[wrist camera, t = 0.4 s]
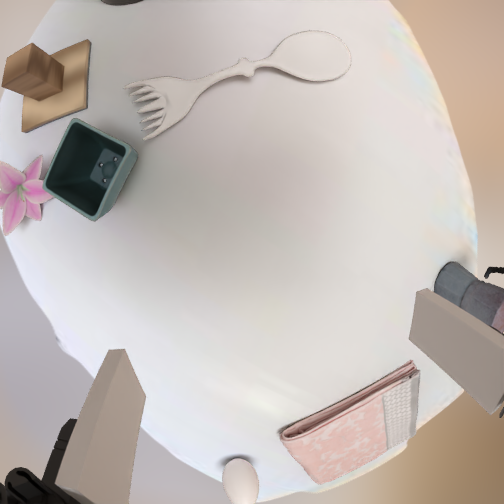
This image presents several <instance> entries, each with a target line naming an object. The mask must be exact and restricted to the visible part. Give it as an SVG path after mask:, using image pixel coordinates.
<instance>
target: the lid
mask: <svg viewBox="0 0 504 504" xmlns="http://www.w3.org/2000/svg"><path fill="white" fill-rule="evenodd" d="M89 47H90V41H89V40H88V39H87V40H85V41H82V42H79V43H77V44H74V45H72V46H70V47H67V48H65V49H63V50H60V51H58V52H56V53H54V54H52V55H48V54H47V53H46V52H44V51H43V50H41V49H40V48H39V47H37V46H36V45H35V44H33V43H31V44H29V45H27V46H25V47H24V48H22V49H20V50H19V51H17V52H16V53H14V54H13V55H11V56H9V57H8V58H7V61H6V65H5V70H4V75H3V81H2V87H4V88H6V89H9V90H12V91H14V92H17V93H19V94H22V95H24V98H23V110H22V132H27V131H29V130H31V129H33V128H36V127H38V126H40V125H42V124H45V123H47V122H49V121H52V120H54V119H57V118H59V117H62V116H64V115H67V114H70V113H72V112H75V111H78V110H81V109H84V108H86V86H87V68H88V56H89Z"/></svg>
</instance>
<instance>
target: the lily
mask: <svg viewBox="0 0 504 504" xmlns="http://www.w3.org/2000/svg"><path fill="white" fill-rule="evenodd" d="M42 162H43V156H42V155H41V156H39V157H38V158H36V159H35V160H34V161H33V162H32V163H31V164H30V165H29V166H28V167H27V168H26V169H25V170H24V171H23V172H21V171H19V170H17V169H15V168H14V167H12V166H10V165H9V164H7V163H5V162H2V161H0V189H1V190H0V209H3V233H4V235H5V236H7V235H9V234H10V233H11V232H12V231H13V230H14V229H15V228H16V227H17V226H18V225H19V224H20V222H21V221H22V220H23V218H24V216H27V217H29V218H31V219H34V220H37V221H41V219H42V215H41V208H40V203H44V202H46V201H48V200H50V199H51V198H53V196H52V195H50V194H49V193H47V192H46V191H44V190H43V188H42V185H43V181H44V180H39V178H40V174H41V169H42Z"/></svg>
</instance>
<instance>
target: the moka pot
mask: <svg viewBox="0 0 504 504" xmlns="http://www.w3.org/2000/svg"><path fill="white" fill-rule="evenodd" d="M496 272H498V273H502V274H504V268H502V267H500V268H498V267H489V268H488V269H487V271H486V273H485V275H484V277H485V278H486V279H487V278H488V277H489V274H490V273H496ZM434 290H435V291H434V292H435V293H436V294H438V295H440V296H441V297H443V298H445V299H446V300H448V301H450V302H451V303H453V304H455V305H456V306H458V307H459V308H461V309H463V310H464V311H466V312H468V313H469V314H471V315H472V316H474V317H476V318H477V319H479V320H480V321H482V322H483V323H485V324H486V325H489V326H492V327H494V328H496V329H497V330H499V331H500V332H501V334H502V333H503V332H504V289H503V288H501V287H498V286H495V285H492V284H490V283H485V282H484V281H480V280H478V278H476V277H475V276H474V275H473V274H472V273H470V272H469V271H468V270H466V269H465V268H464V267H463V266H461V265H460V264H458V263H457V262H451V263H449V264H447V265H446V266H445V267H444V268H443V269H442V270H441V272H440V274H439V276H438V278H437V280H436V283H435V289H434Z"/></svg>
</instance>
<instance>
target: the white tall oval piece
mask: <svg viewBox="0 0 504 504" xmlns="http://www.w3.org/2000/svg"><path fill="white" fill-rule="evenodd" d="M222 481H223V486H224V489H225V492H226V494H227V496H228V498H229V499H230V501H231V502H232V503H233V504H255V502H256V500H257V497H258V493H259V480H258V476H257V473H256V471H255V469H254V467H253V466H252V465H251V464H250V463H249V462H248V461H246V460H244V459H240V458H236V459H233V460H231V461H230V462H228V463H227V464H226V466H225V468H224V470H223V475H222Z"/></svg>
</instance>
